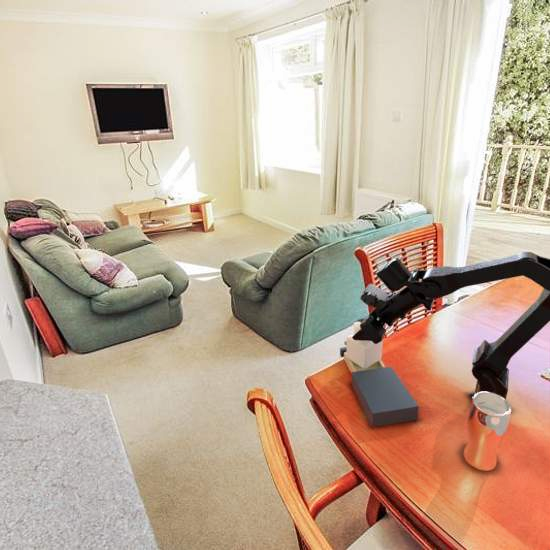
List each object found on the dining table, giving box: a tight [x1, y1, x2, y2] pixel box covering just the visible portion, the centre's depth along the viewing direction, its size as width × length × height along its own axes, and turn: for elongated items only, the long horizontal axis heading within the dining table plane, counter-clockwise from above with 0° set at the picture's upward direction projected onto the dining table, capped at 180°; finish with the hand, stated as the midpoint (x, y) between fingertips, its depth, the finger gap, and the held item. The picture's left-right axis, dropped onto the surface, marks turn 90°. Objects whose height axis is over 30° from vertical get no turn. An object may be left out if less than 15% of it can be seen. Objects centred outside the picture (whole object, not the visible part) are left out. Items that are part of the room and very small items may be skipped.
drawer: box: [339, 340, 386, 375], centre depth 108 cm, size 18×10×3 cm, turn 8°
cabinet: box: [350, 366, 420, 428], centre depth 94 cm, size 15×11×4 cm
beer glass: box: [463, 392, 512, 472], centre depth 75 cm, size 7×7×15 cm
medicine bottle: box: [346, 318, 384, 369], centre depth 104 cm, size 7×7×12 cm
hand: (359, 330), depth 104 cm, fingers open, 9 cm apart
